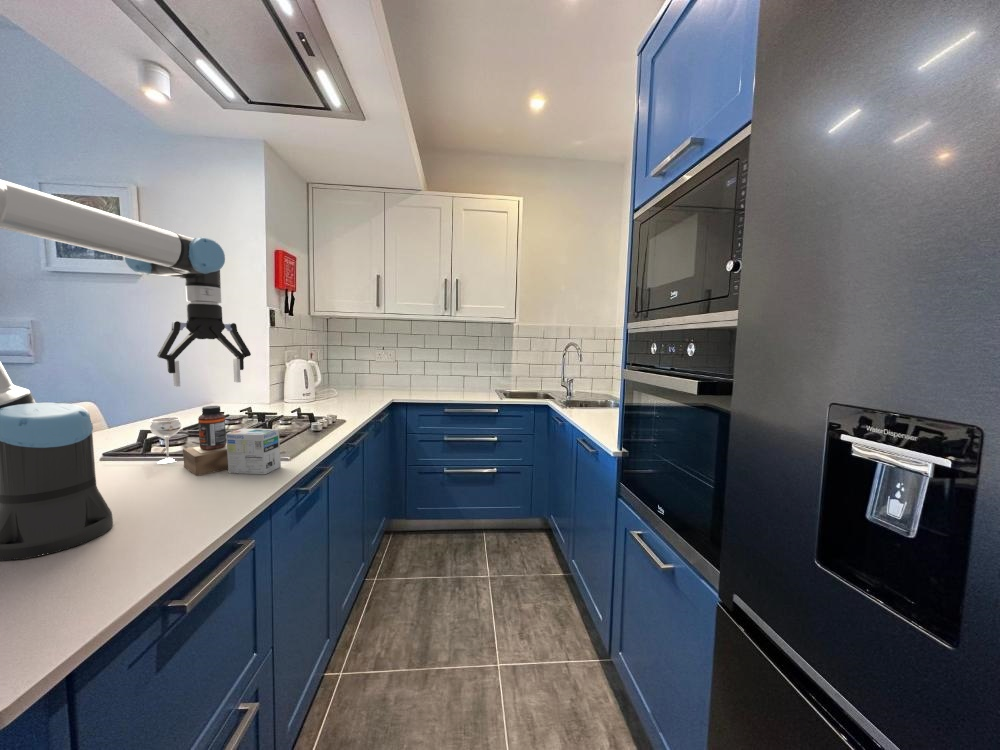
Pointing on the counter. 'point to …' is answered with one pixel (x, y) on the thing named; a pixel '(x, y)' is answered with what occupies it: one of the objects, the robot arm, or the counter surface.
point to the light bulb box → (253, 451)
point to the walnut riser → (205, 460)
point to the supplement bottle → (212, 428)
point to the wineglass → (165, 432)
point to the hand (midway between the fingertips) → (208, 384)
